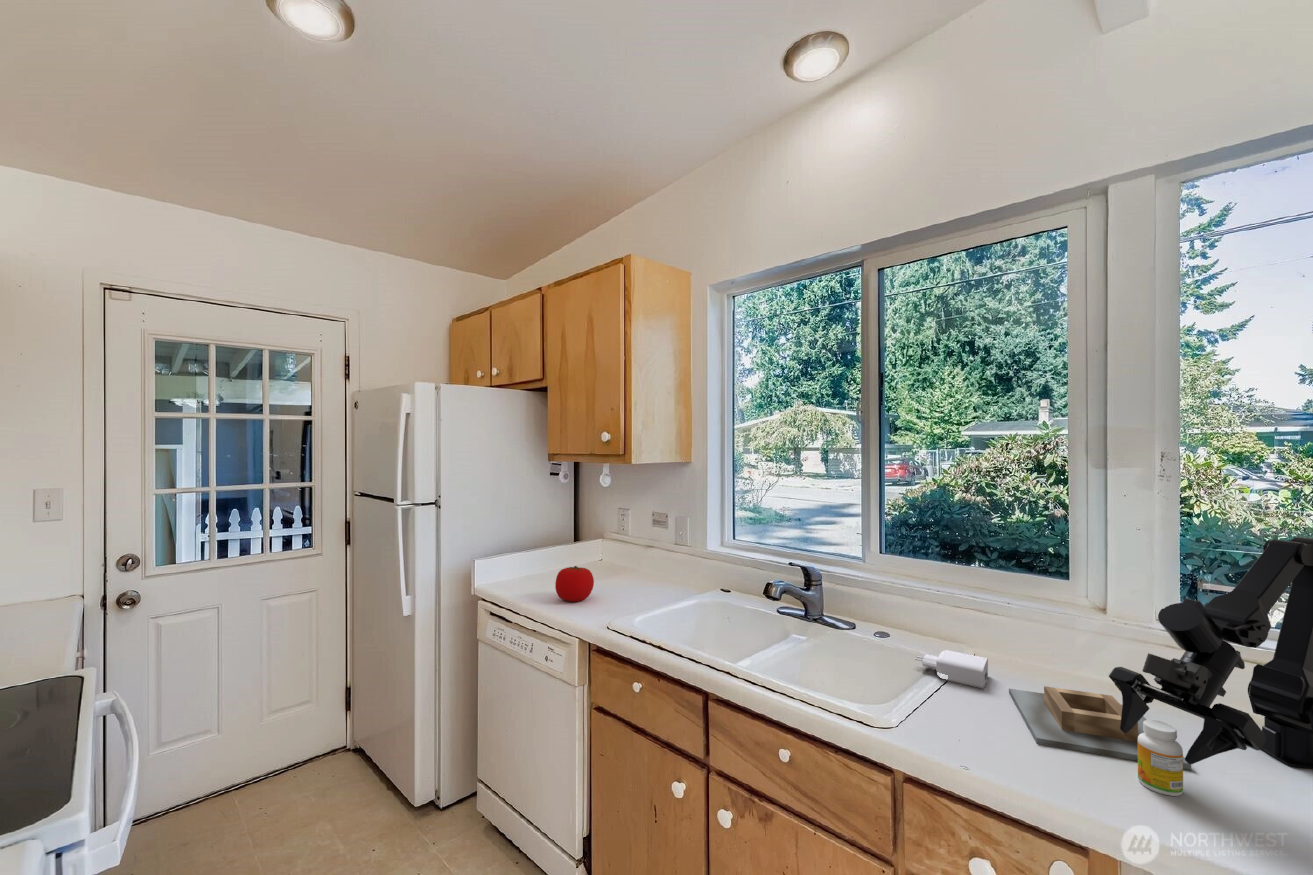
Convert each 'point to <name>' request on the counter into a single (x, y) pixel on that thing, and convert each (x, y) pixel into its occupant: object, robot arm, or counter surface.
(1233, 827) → the counter surface
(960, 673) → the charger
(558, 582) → the tomato
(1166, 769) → the supplement bottle
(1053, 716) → the socket block
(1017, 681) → the counter surface
